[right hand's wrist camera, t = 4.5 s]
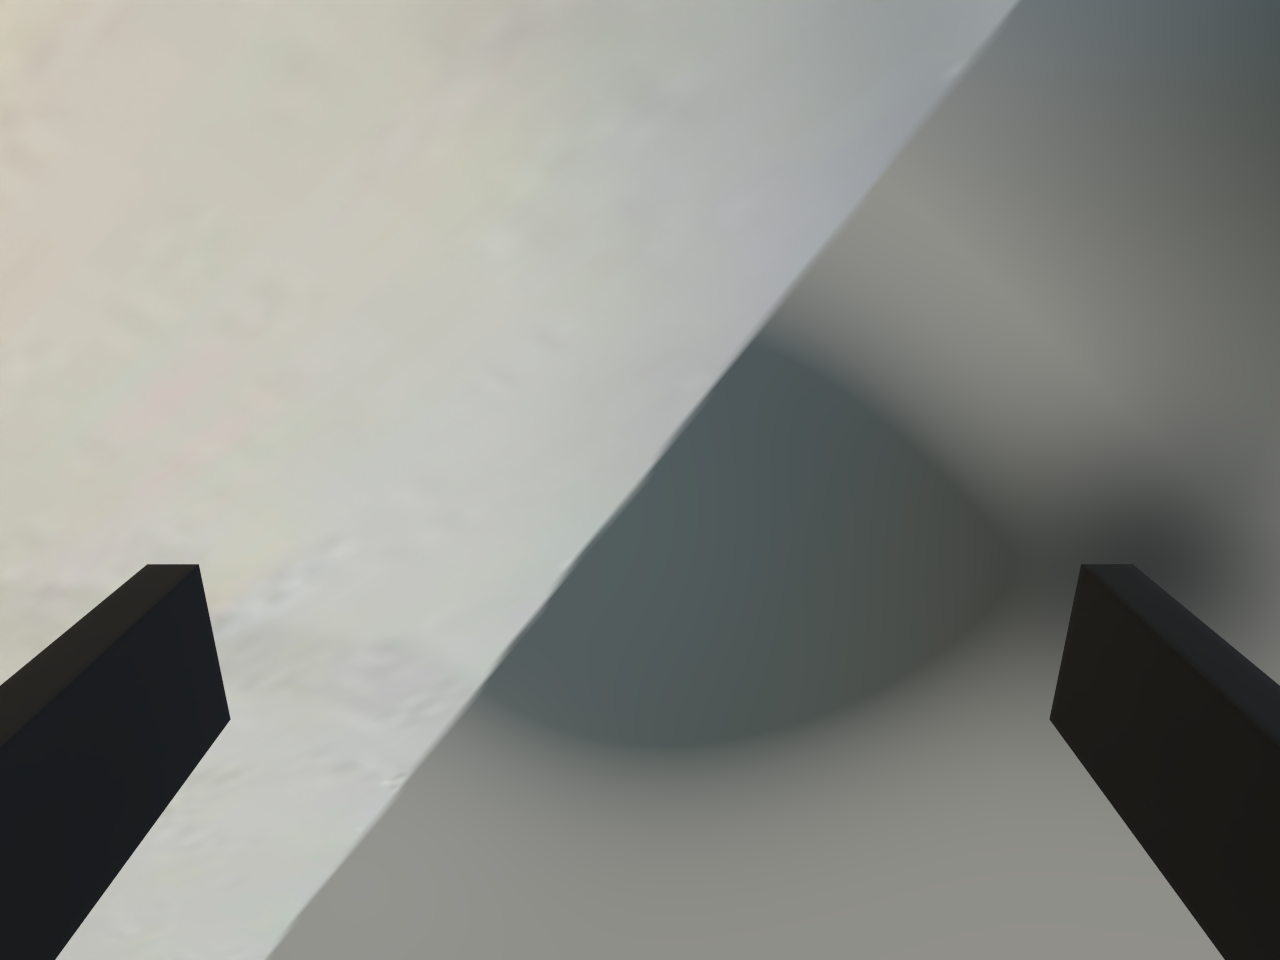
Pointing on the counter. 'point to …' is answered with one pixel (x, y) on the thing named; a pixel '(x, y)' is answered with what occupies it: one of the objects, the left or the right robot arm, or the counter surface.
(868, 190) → the counter surface
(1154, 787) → the right robot arm
